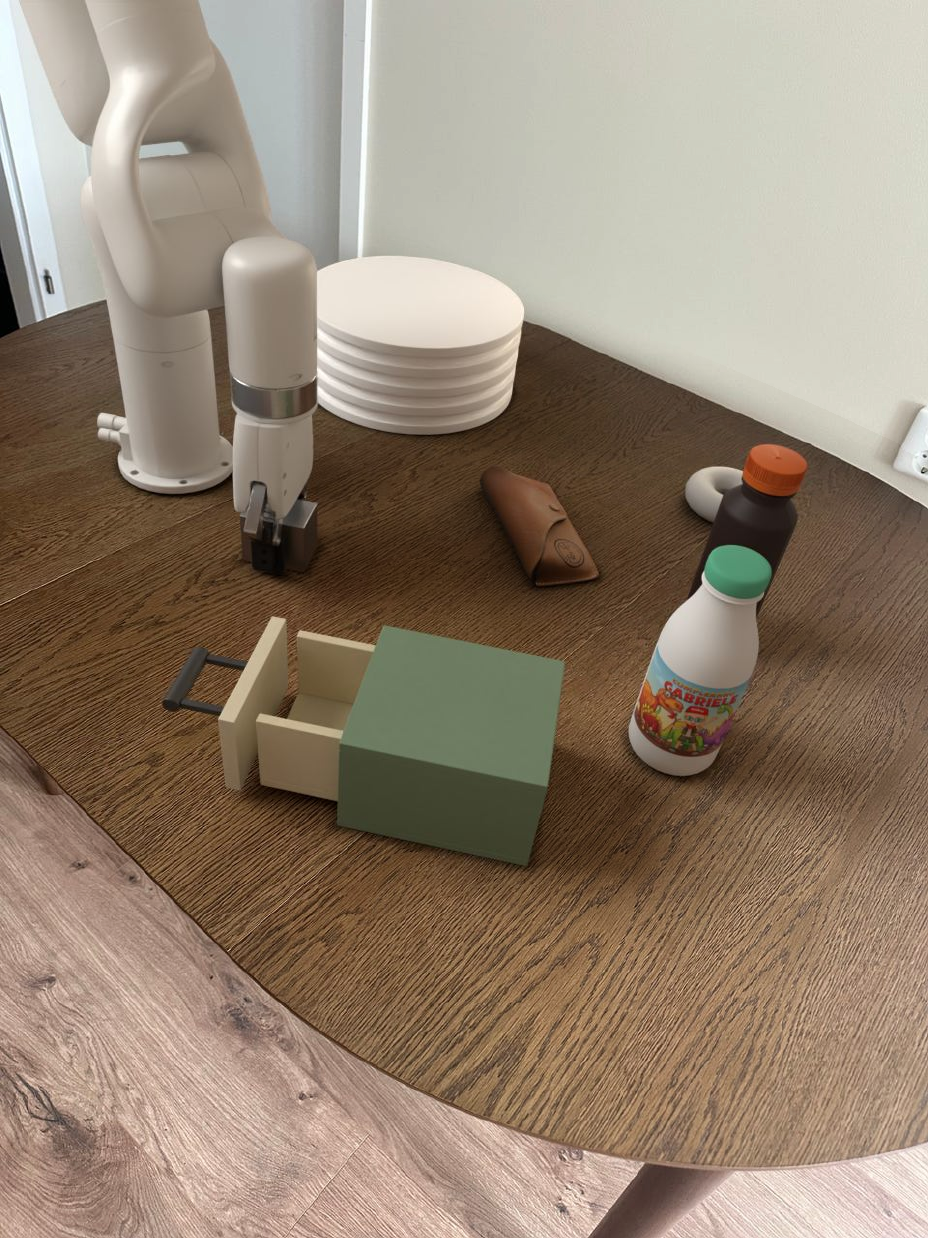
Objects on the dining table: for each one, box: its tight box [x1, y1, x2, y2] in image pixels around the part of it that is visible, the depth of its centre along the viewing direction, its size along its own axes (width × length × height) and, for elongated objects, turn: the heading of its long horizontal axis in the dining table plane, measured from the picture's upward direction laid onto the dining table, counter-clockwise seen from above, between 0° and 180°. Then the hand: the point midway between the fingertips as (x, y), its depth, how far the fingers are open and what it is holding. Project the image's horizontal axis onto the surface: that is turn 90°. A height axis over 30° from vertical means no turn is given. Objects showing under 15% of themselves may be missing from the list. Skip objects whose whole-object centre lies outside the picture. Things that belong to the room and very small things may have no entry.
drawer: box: [161, 615, 376, 802], centre depth 71 cm, size 19×11×8 cm, turn 80°
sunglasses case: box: [479, 464, 600, 587], centre depth 99 cm, size 18×7×7 cm
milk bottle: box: [628, 545, 772, 777], centre depth 72 cm, size 8×8×20 cm
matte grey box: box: [239, 499, 318, 573], centre depth 91 cm, size 6×4×6 cm
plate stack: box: [317, 255, 525, 436], centre depth 119 cm, size 28×28×12 cm
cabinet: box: [336, 625, 566, 867], centre depth 70 cm, size 15×13×10 cm
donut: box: [684, 466, 743, 524], centre depth 106 cm, size 10×4×10 cm
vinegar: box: [685, 443, 809, 620], centre depth 84 cm, size 7×7×20 cm
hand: (280, 549), depth 92 cm, fingers open, 6 cm apart
